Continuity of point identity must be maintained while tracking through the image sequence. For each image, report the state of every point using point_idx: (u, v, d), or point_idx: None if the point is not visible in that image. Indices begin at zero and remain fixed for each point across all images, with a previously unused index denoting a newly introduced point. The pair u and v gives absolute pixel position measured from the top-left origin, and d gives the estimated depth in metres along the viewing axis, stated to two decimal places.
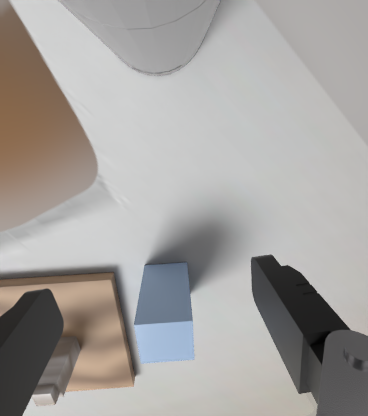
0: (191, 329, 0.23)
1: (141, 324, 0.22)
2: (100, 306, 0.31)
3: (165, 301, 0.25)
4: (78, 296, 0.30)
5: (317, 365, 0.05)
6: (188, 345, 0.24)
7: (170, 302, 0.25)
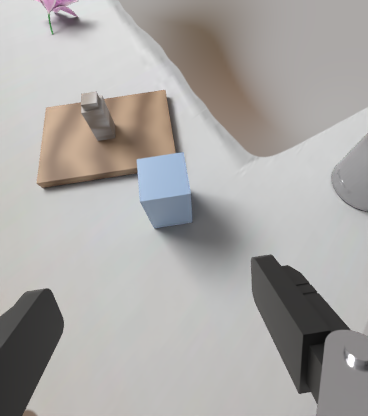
0: (180, 193, 0.25)
1: None
2: (148, 154, 0.37)
3: None
4: (159, 140, 0.38)
5: (317, 365, 0.05)
6: (159, 194, 0.25)
7: None
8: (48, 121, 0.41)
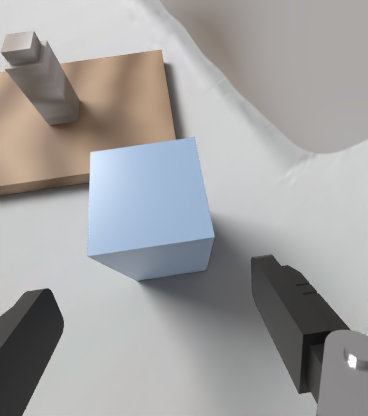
0: (188, 237, 0.10)
1: (196, 148, 0.12)
2: None
3: None
4: (149, 125, 0.23)
5: (317, 365, 0.05)
6: (135, 237, 0.10)
7: None
8: None
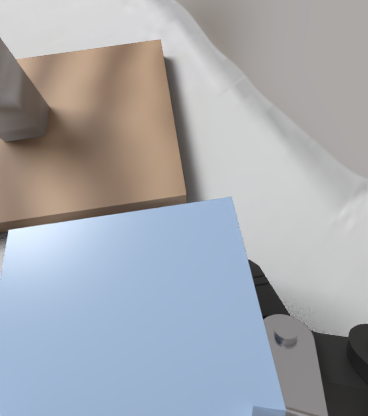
0: None
1: (238, 224, 0.06)
2: (117, 176, 0.15)
3: None
4: (144, 142, 0.16)
5: None
6: None
7: None
8: None
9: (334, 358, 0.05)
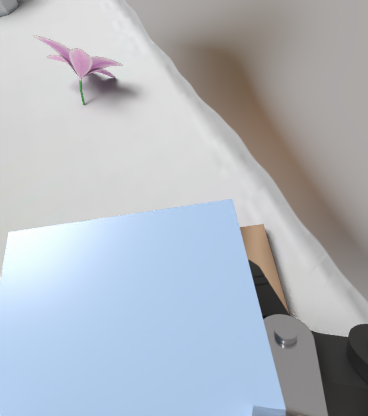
0: None
1: None
2: None
3: None
4: None
5: None
6: None
7: None
8: None
9: (334, 358, 0.05)
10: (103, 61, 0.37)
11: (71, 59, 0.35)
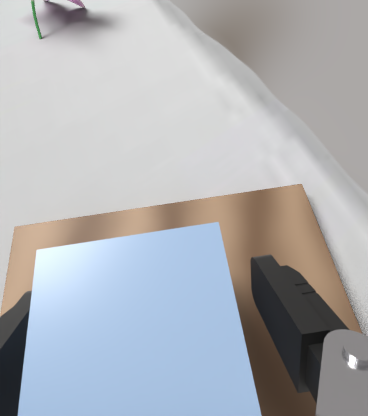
0: None
1: (223, 245, 0.07)
2: None
3: None
4: None
5: (316, 365, 0.05)
6: None
7: None
8: (17, 272, 0.16)
9: None
10: None
11: None
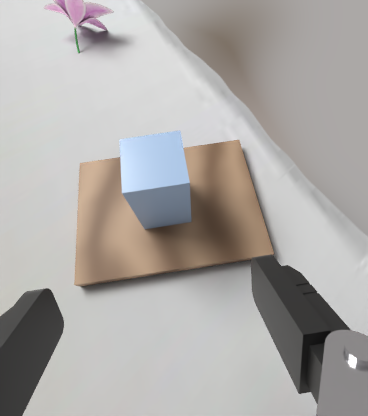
0: (176, 183, 0.19)
1: None
2: (231, 241, 0.26)
3: None
4: (242, 218, 0.27)
5: (317, 365, 0.05)
6: (147, 183, 0.19)
7: None
8: (84, 184, 0.30)
9: None
10: (96, 9, 0.41)
11: (66, 5, 0.39)
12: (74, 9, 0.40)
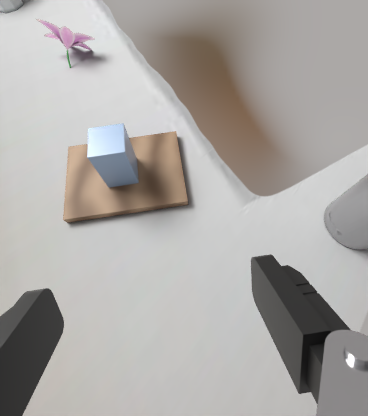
0: (117, 152, 0.35)
1: (123, 127, 0.37)
2: (162, 194, 0.42)
3: (128, 148, 0.38)
4: (171, 180, 0.43)
5: (317, 365, 0.05)
6: (101, 152, 0.35)
7: (128, 151, 0.38)
8: (71, 160, 0.46)
9: None
10: (82, 37, 0.56)
11: (60, 35, 0.55)
12: (66, 37, 0.55)
